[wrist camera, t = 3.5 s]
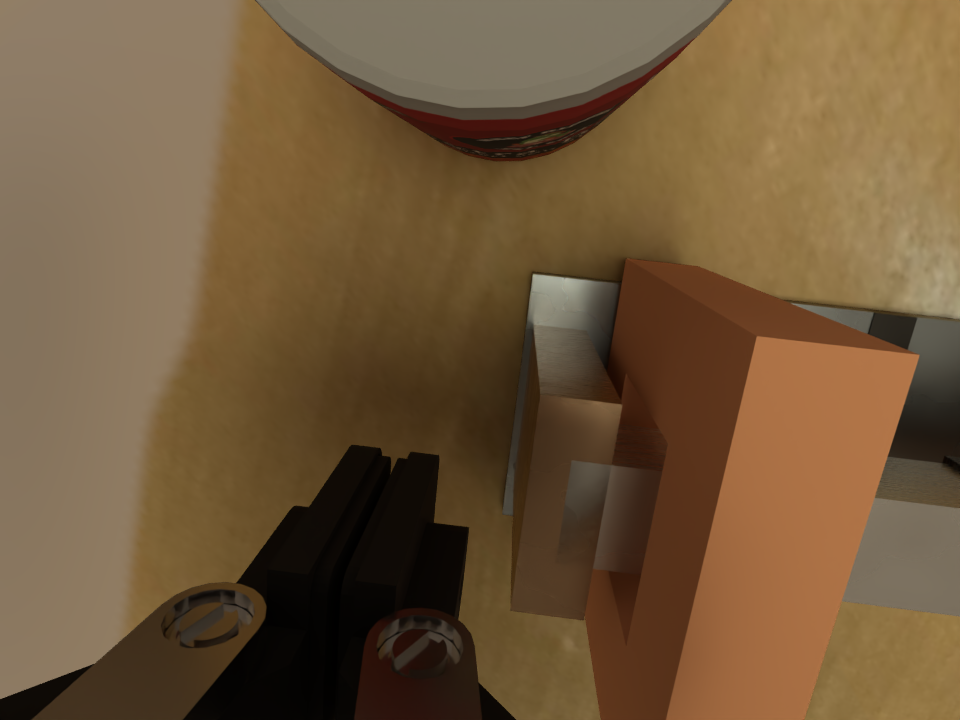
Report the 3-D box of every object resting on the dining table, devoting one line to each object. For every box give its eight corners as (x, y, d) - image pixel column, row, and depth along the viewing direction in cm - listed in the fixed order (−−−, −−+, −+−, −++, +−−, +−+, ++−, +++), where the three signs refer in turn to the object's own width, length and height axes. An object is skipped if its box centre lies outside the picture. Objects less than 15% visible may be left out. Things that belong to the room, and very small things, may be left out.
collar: (575, 555, 19) (626, 886, 10) (625, 258, 17) (756, 336, 7) (637, 563, 19) (745, 904, 10) (697, 266, 17) (919, 355, 7)
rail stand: (502, 505, 20) (493, 670, 13) (532, 271, 18) (540, 319, 11) (982, 566, 20) (1239, 772, 13) (1072, 332, 18) (1444, 424, 10)
